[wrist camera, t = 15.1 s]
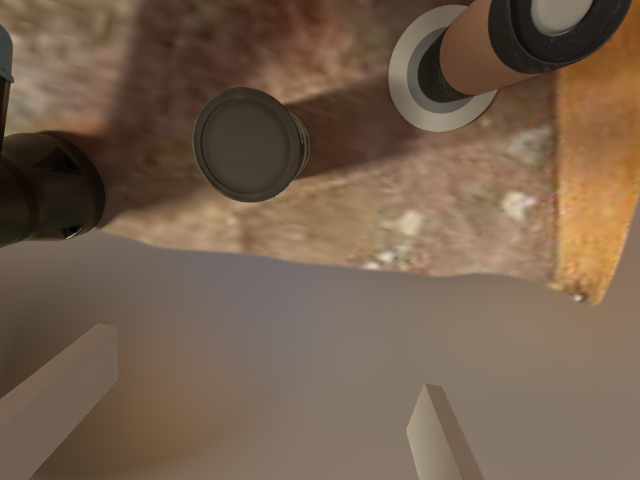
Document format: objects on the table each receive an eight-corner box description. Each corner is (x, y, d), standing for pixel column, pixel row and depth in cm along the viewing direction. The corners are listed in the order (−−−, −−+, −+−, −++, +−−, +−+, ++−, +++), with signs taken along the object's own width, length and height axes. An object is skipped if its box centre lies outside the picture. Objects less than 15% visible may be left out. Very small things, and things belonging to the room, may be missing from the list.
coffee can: (270, 88, 39) (239, 59, 26) (325, 146, 41) (323, 148, 28) (221, 146, 41) (169, 148, 28) (275, 199, 43) (251, 223, 30)
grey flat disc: (375, 120, 40) (376, 119, 39) (405, -5, 35) (407, -8, 35) (477, 141, 40) (480, 141, 39) (518, 21, 36) (523, 18, 35)
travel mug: (484, 89, 37) (647, 32, 18) (425, 116, 38) (521, 89, 19) (467, 23, 35) (632, -117, 16) (406, 54, 36) (492, -44, 17)
